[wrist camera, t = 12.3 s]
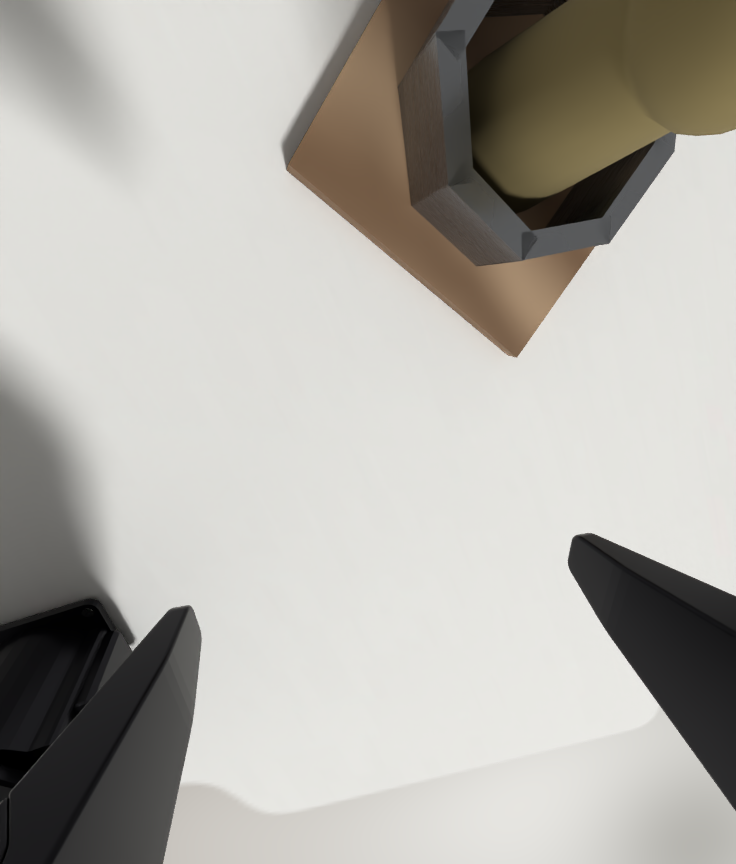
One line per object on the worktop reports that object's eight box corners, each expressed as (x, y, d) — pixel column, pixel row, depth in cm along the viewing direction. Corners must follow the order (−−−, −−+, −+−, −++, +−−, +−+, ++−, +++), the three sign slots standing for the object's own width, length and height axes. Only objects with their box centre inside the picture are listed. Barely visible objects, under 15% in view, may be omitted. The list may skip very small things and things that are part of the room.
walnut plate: (508, 355, 21) (516, 357, 21) (286, 170, 16) (288, 164, 15) (672, 119, 20) (688, 113, 19) (488, -184, 14) (501, -210, 13)
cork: (416, 132, 16) (691, -138, 6) (517, 11, 16) (993, -494, 6) (498, 246, 18) (788, 191, 8) (587, 145, 18) (1001, -38, 8)
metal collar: (515, 303, 20) (565, 305, 16) (356, 155, 16) (383, 120, 12) (642, 119, 18) (723, 82, 15) (504, -94, 14) (575, -205, 11)
